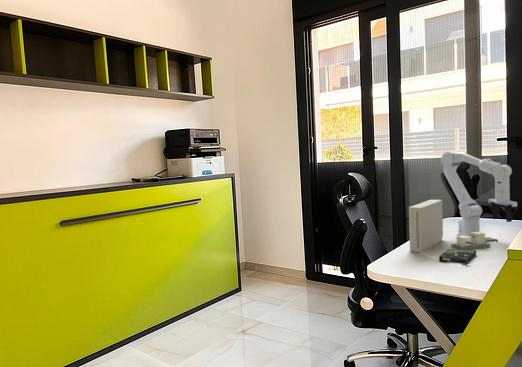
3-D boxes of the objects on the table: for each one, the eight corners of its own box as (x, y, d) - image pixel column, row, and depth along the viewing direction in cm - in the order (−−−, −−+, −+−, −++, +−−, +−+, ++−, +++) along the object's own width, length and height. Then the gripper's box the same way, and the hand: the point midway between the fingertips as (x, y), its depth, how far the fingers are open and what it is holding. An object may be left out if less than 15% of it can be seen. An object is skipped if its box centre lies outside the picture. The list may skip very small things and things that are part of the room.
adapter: (456, 247, 178) (456, 236, 177) (464, 246, 179) (464, 235, 178) (468, 251, 171) (468, 239, 170) (476, 250, 171) (476, 238, 171)
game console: (408, 251, 178) (407, 207, 176) (430, 239, 197) (429, 199, 196) (421, 253, 174) (420, 207, 172) (443, 240, 193) (442, 199, 192)
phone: (468, 241, 189) (468, 239, 188) (488, 239, 191) (488, 236, 191) (477, 244, 183) (477, 241, 183) (497, 241, 186) (497, 239, 185)
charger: (478, 244, 180) (478, 231, 180) (484, 246, 176) (484, 233, 176) (470, 245, 179) (470, 232, 179) (477, 247, 175) (476, 234, 175)
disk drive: (467, 266, 153) (476, 257, 164) (466, 259, 153) (476, 250, 164) (438, 262, 160) (449, 254, 171) (438, 256, 160) (449, 247, 171)
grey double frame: (451, 247, 179) (451, 242, 179) (478, 244, 182) (478, 239, 182) (462, 251, 172) (462, 246, 172) (490, 248, 175) (490, 243, 175)
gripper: (482, 190, 190) (483, 218, 191) (507, 193, 176) (507, 223, 177) (495, 189, 192) (495, 217, 193) (521, 192, 178) (521, 222, 179)
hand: (502, 220), depth 185 cm, fingers open, 7 cm apart
